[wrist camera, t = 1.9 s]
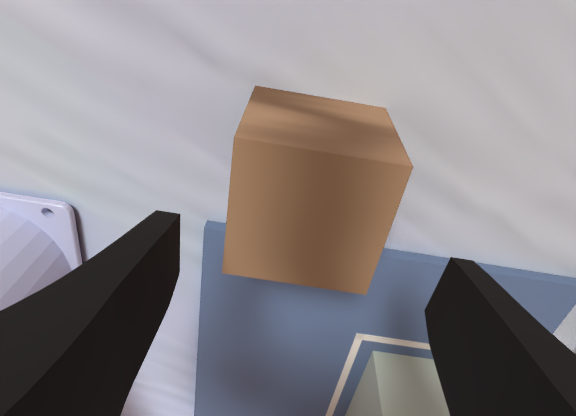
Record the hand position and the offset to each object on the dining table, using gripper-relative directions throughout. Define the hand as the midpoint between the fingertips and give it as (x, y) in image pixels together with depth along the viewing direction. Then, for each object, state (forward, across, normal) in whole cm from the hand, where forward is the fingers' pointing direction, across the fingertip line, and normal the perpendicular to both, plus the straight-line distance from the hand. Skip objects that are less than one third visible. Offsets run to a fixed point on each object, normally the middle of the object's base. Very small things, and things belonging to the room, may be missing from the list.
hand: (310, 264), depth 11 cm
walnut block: (+7, 0, 0) cm, 7 cm away
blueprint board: (+7, -5, +12) cm, 15 cm away
